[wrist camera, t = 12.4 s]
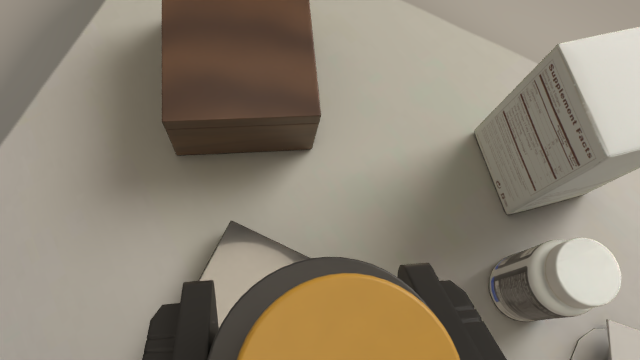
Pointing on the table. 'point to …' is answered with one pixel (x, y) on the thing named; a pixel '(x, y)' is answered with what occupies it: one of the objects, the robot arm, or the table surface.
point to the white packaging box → (567, 123)
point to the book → (609, 343)
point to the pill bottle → (555, 280)
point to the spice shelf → (238, 76)
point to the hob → (243, 264)
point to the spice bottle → (331, 317)
